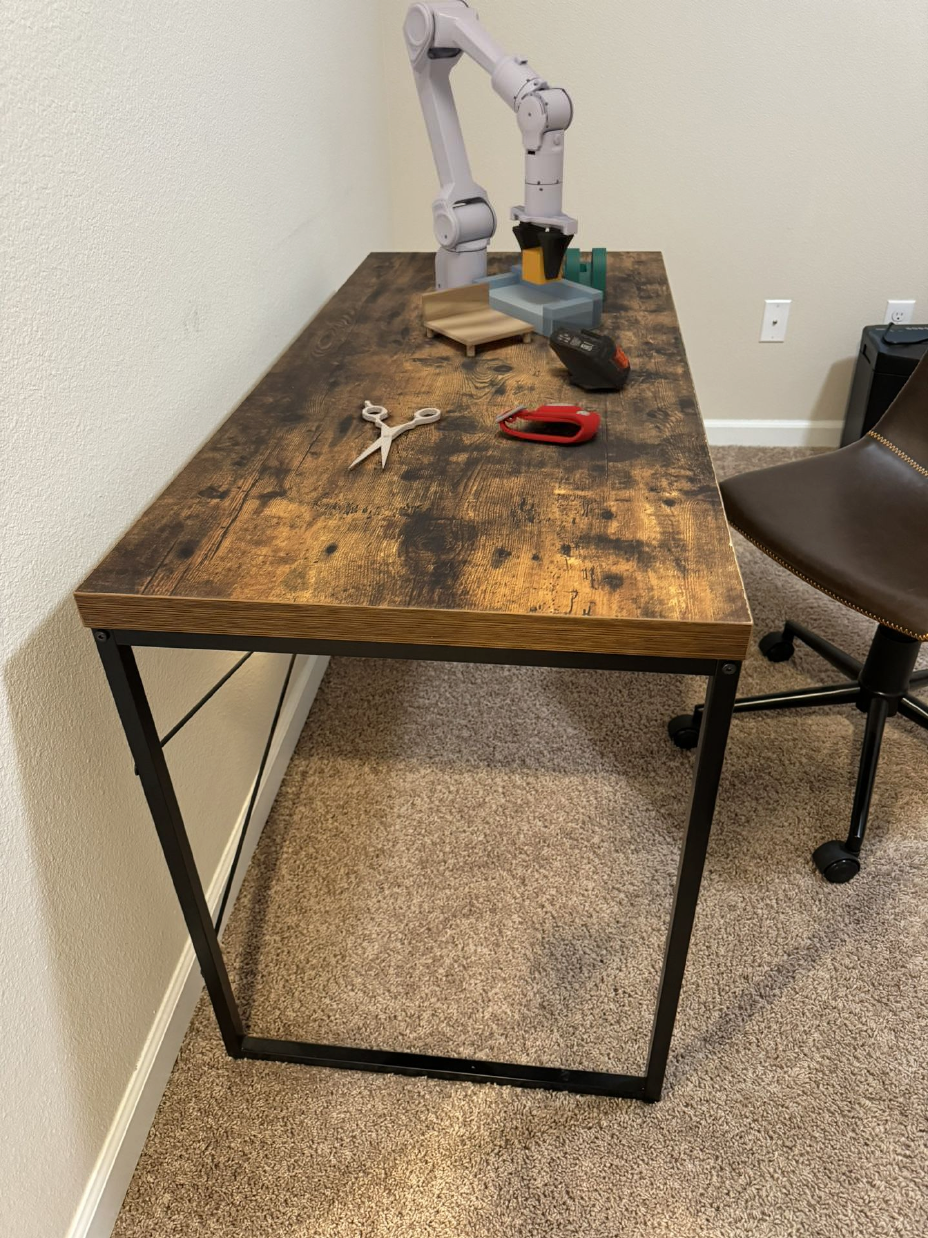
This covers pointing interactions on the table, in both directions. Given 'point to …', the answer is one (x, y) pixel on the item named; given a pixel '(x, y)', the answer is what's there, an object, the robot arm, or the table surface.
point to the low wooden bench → (469, 316)
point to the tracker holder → (552, 414)
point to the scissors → (393, 432)
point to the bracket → (586, 269)
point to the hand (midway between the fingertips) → (541, 275)
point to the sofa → (544, 302)
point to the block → (535, 267)
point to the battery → (590, 358)
